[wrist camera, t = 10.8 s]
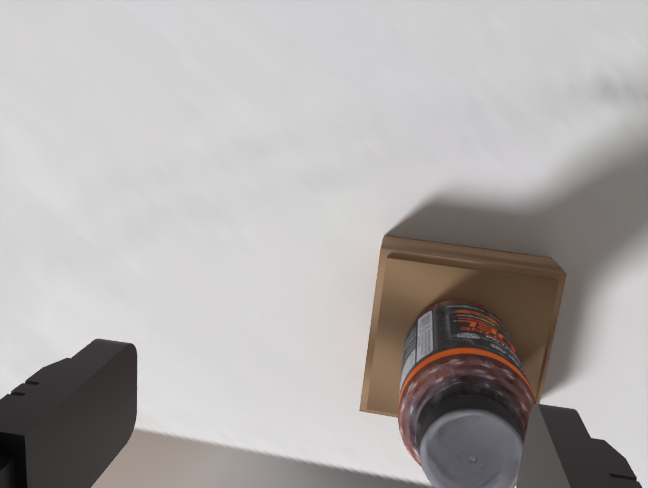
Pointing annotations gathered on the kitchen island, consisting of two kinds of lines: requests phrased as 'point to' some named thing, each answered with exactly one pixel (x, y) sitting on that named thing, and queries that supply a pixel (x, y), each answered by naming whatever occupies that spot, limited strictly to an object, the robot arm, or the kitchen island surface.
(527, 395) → the supplement bottle
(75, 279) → the kitchen island surface
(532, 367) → the plinth
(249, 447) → the kitchen island surface
